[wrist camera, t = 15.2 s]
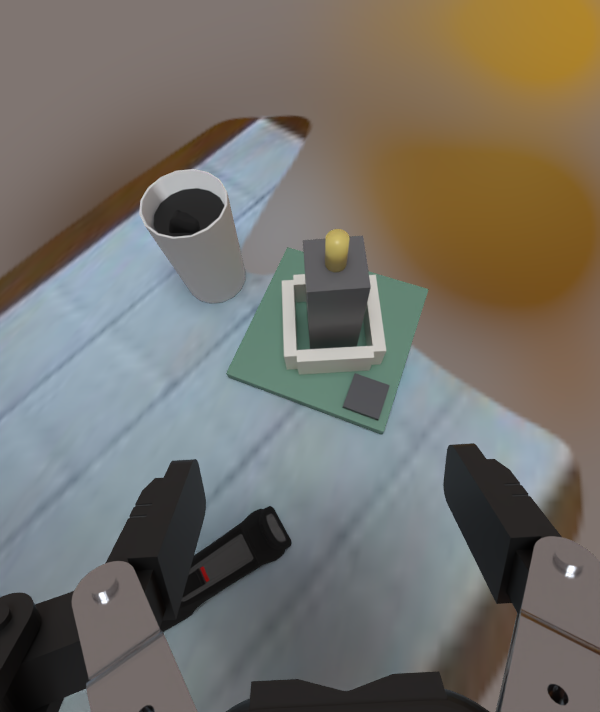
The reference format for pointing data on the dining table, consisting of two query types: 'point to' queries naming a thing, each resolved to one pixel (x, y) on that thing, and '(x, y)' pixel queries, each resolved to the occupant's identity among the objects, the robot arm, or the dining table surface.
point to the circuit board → (340, 389)
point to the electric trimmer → (232, 559)
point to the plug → (335, 289)
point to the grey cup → (196, 232)
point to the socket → (331, 357)
